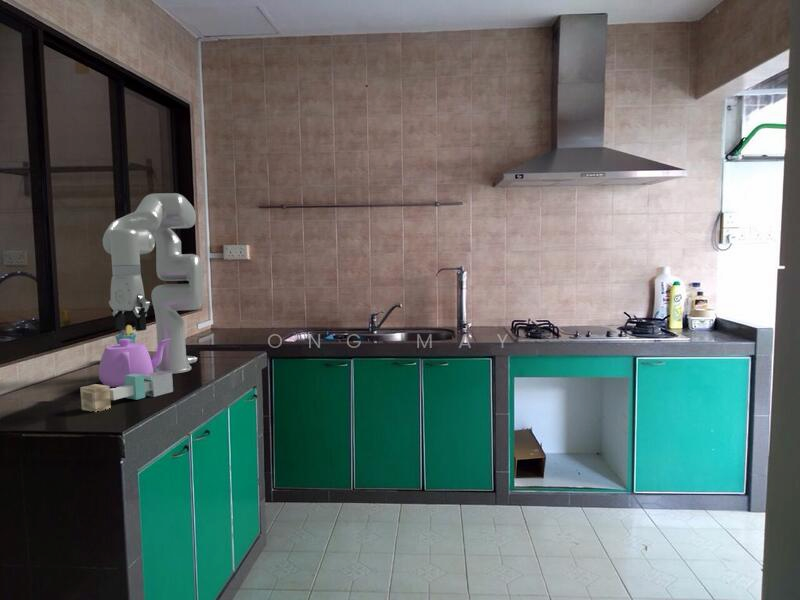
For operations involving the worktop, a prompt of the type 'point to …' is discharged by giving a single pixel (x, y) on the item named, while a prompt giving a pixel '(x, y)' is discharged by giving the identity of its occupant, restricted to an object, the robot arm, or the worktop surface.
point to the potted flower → (126, 334)
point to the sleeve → (159, 383)
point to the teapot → (127, 361)
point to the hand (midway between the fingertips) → (130, 329)
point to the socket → (95, 397)
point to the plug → (131, 388)
